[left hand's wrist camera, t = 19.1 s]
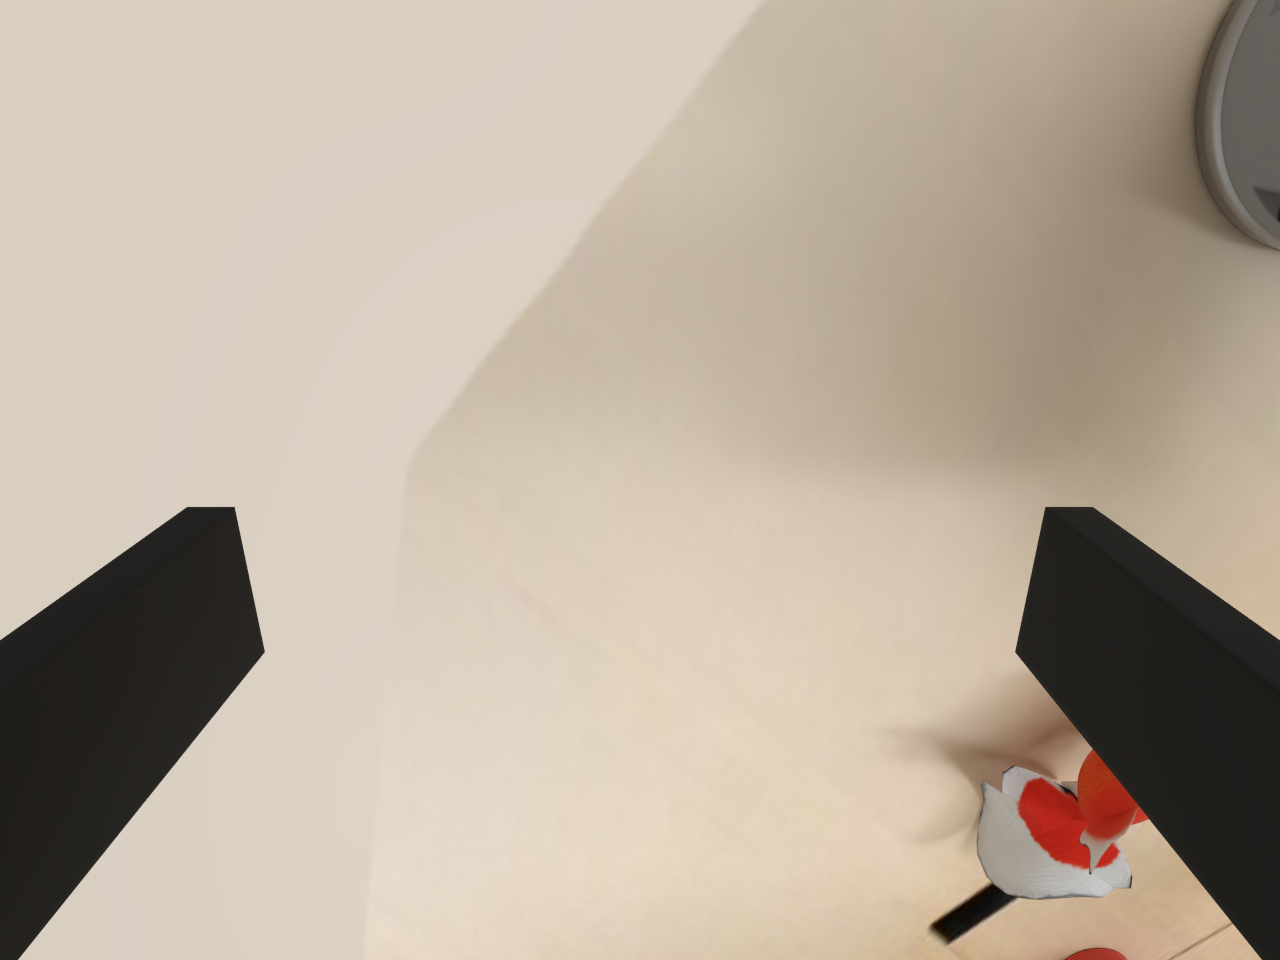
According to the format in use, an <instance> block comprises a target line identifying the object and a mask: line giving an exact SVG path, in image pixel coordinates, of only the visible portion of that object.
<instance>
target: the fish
mask: <svg viewBox="0 0 1280 960" xmlns="http://www.w3.org/2000/svg"><path fill="white" fill-rule="evenodd" d="M1061 784H1062V785H1063V786H1065V787H1066V788H1065V787H1063V786H1062V785H1060V784H1058V783H1056V782H1054V781H1052V780H1050V779H1048V778H1046V777H1044V776H1043V775H1040V774H1038V773H1035V772H1033V771H1030V770H1027V769H1024V768H1021V767H1017V766H1014V765H1013V766H1012V767H1010V768H1009V769H1008V770H1006V771H1005V772H1003V779H1002V790H1000V789H998V788H996V787H994V786H992V785H990V784H989V783H987V782H984V781H983V782H982V784H981V788H982V792H983V800H984V804H983V808H982V811H981V814H980V820H979V826H978V835H977V855H978V858H979V860H980V863H981V865H982V867H983V870H984V872H985V875H986V877H987V878H988V879H989V880H990V881H991V882H992V883H993V884H994V885H996V886H997V887H998V888H1000V889H1001V890H1002V891H1004V892H1005V893H1006V894H1009V895H1013V896H1016V897H1020V898H1026V899H1036V900H1041V899H1055V898H1070V897H1100V898H1102V897H1103V896H1105V895H1106V894H1108V893H1109V892H1111V891H1112V890H1113V889H1115V888H1131V883H1132V874H1131V871H1130V868H1129V865H1128V862H1127V860H1126V858H1125V856H1124V854H1123V852H1122V850H1121V848H1120V846H1119V844H1118V842H1117V839H1118V838H1120V837H1121V836H1122V835H1124V834H1125V833H1126V832H1127V830H1128V828H1129V827H1130V825H1133V824H1136V823H1140V822H1143V821H1145V820H1147V819H1149V818H1148V817H1147V816H1146V814H1145V813H1144V812H1143V811H1142V809H1141V808H1140V807H1139V806H1138V804H1137V803H1136V802H1135V801H1134V799H1133V798H1132V797H1131V796H1130V795H1129V793H1128V792H1127V791H1126V790H1125V788H1124V787H1123V786H1122V785H1121V783H1120V782H1119V781H1118V780H1117V778H1116V777H1115V776H1114V775H1113V773H1112V772H1111V771H1110V770H1109V768H1108V767H1107V766H1106V765H1105V763H1104V762H1103V761H1102V760H1101V758H1100V757H1099V756H1098V755H1097V753H1096V752H1095V751H1094V750H1092V751H1091V752H1090V753H1089V754H1088V756H1087V757H1086V759H1085V760H1084V762H1083V764H1082V767H1081V769H1080V772H1079V776H1078V782H1070V781H1062V782H1061ZM1067 788H1068V789H1067ZM1075 795H1076V796H1077V797H1078V798H1077V797H1076V796H1075Z"/></svg>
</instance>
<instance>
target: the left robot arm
mask: <svg viewBox="0 0 1280 960" xmlns="http://www.w3.org/2000/svg"><path fill="white" fill-rule="evenodd" d="M1196 144H1197V152H1198V158H1199V163H1200V167H1201V170H1202V174H1203V177H1204V180H1205V182H1206V185H1207V187H1208V189H1209V191H1210V194H1211V195H1212V197H1213V199H1214V200H1215V202H1216V204H1217V205H1218V207H1219V208H1220V209H1221V211H1222V212H1223V213H1224V215H1225V216H1226V217H1227V218H1228V219H1229V220H1230V221H1231V222H1232V223H1233V224H1234V225H1235V226H1236V227H1237V228H1239V229H1240V230H1241V231H1242V232H1244V233H1245V234H1246V235H1248V236H1250V237H1251V238H1253V239H1255V240H1256V241H1258V242H1260V243H1263V244H1265V245H1267V246H1270V247H1272V248H1276V249H1279V250H1280V0H1235V1H1234V3H1233V4H1232V6H1231V8H1230V10H1229V11H1228V13H1227V15H1226V17H1225V19H1224V20H1223V22H1222V24H1221V26H1220V29H1219V31H1218V33H1217V35H1216V37H1215V39H1214V42H1213V44H1212V47H1211V50H1210V52H1209V55H1208V58H1207V61H1206V64H1205V68H1204V71H1203V75H1202V78H1201V83H1200V88H1199V93H1198V99H1197V109H1196ZM264 652H265V651H264V646H263V641H262V636H261V632H260V627H259V622H258V617H257V612H256V608H255V603H254V598H253V593H252V589H251V584H250V579H249V574H248V569H247V565H246V560H245V555H244V550H243V545H242V540H241V536H240V531H239V526H238V521H237V516H236V512H235V507H187V508H185V509H184V510H182V511H181V512H180V513H178V514H177V515H176V516H174V517H173V518H171V519H170V520H168V521H167V522H166V523H164V524H163V525H161V526H160V527H159V528H157V529H156V530H154V531H153V532H152V533H150V534H149V535H147V536H146V537H145V538H143V539H142V540H140V541H139V542H138V543H136V544H135V545H133V546H132V547H131V548H129V549H128V550H126V551H125V552H123V553H122V554H121V555H119V556H118V557H116V558H115V559H114V560H112V561H111V562H109V563H108V564H107V565H105V566H104V567H103V568H101V569H100V570H98V571H97V572H95V573H94V574H93V575H91V576H90V577H88V578H87V579H86V580H84V581H83V582H81V583H80V584H79V585H77V586H76V587H74V588H73V589H72V590H70V591H69V592H67V593H66V594H65V595H63V596H62V597H60V598H59V599H58V600H56V601H55V602H53V603H52V604H51V605H49V606H48V607H46V608H45V609H44V610H42V611H41V612H39V613H38V614H37V615H35V616H34V617H32V618H31V619H30V620H28V621H27V622H25V623H24V624H22V625H21V626H20V627H18V628H17V629H15V630H14V631H13V632H11V633H10V634H9V635H7V636H6V637H4V638H3V639H1V640H0V960H18V959H19V958H20V957H21V955H22V954H23V953H24V952H25V950H26V949H27V948H28V947H29V945H30V944H31V943H32V942H33V940H34V939H35V938H36V937H37V935H38V934H39V933H40V932H41V930H42V929H43V928H44V927H45V925H46V924H47V923H48V922H49V920H50V919H51V918H52V917H53V915H54V914H55V913H56V912H57V910H58V909H59V908H60V907H61V905H62V904H63V903H64V902H65V900H66V899H67V898H68V897H69V895H70V894H71V893H72V892H73V890H74V889H75V888H76V887H77V885H78V884H79V883H80V882H81V880H82V879H83V878H84V877H85V876H86V874H87V873H88V872H89V871H90V869H91V868H92V867H93V866H94V864H95V863H96V862H97V861H98V859H99V858H100V857H101V856H102V854H103V853H104V852H105V851H106V849H107V848H108V847H109V846H110V844H111V843H112V842H113V841H114V839H115V838H116V837H117V836H118V834H119V833H120V832H121V831H122V829H123V828H124V827H125V826H126V824H127V823H128V822H129V821H130V819H131V818H132V817H133V816H134V814H135V813H136V812H137V811H138V809H139V808H140V807H141V806H142V804H143V803H144V802H145V801H146V799H147V798H148V797H149V796H150V795H151V793H152V792H153V791H154V790H155V788H156V787H157V786H158V785H159V783H160V782H161V781H162V779H163V778H164V777H165V776H166V775H167V773H168V772H169V771H170V770H171V768H172V767H173V766H174V765H175V763H176V762H177V761H178V760H179V758H180V757H181V756H182V755H183V753H184V752H185V751H186V750H187V748H188V747H189V746H190V745H191V743H192V742H193V741H194V740H195V738H196V737H197V736H198V735H199V733H200V732H201V731H202V730H203V728H204V727H205V726H206V725H207V723H208V722H209V721H210V720H211V718H212V717H213V716H214V715H215V713H216V712H217V711H218V710H219V709H220V707H221V706H222V705H223V703H224V702H225V701H226V700H227V699H228V697H229V696H230V695H231V694H232V692H233V691H234V690H235V689H236V687H237V686H238V685H239V684H240V682H241V681H242V680H243V679H244V677H245V676H246V675H247V674H248V672H249V671H250V670H251V669H252V667H253V666H254V665H255V664H256V662H257V661H258V660H259V659H260V657H261V656H262V655H263V654H264ZM1015 652H1016V654H1017V655H1018V656H1019V657H1020V659H1021V660H1022V661H1023V662H1024V664H1025V665H1026V666H1027V667H1028V669H1029V670H1030V671H1031V672H1032V674H1033V675H1034V676H1035V677H1036V679H1037V680H1038V681H1039V682H1040V684H1041V685H1042V686H1043V687H1044V689H1045V690H1046V691H1047V692H1048V694H1049V695H1050V696H1051V697H1052V699H1053V700H1054V701H1055V702H1056V704H1057V705H1058V706H1059V707H1060V709H1061V710H1062V711H1063V712H1064V713H1065V715H1066V716H1067V717H1068V718H1069V720H1070V721H1071V722H1072V723H1073V725H1074V726H1075V727H1076V728H1077V730H1078V731H1079V732H1080V733H1081V735H1082V736H1083V737H1084V738H1085V740H1086V741H1087V742H1088V743H1089V745H1090V746H1091V747H1092V748H1093V750H1094V751H1095V752H1096V753H1097V755H1098V756H1099V757H1100V758H1101V760H1102V761H1103V762H1104V763H1105V765H1106V766H1107V767H1108V768H1109V770H1110V771H1111V772H1112V773H1113V775H1114V776H1115V777H1116V778H1117V780H1118V781H1119V782H1120V783H1121V785H1122V786H1123V787H1124V788H1125V790H1126V791H1127V792H1128V793H1129V795H1130V796H1131V797H1132V798H1133V799H1134V801H1135V802H1136V803H1137V804H1138V806H1139V807H1140V808H1141V809H1142V811H1143V812H1144V813H1145V814H1146V816H1147V817H1148V818H1149V819H1150V821H1151V822H1152V823H1153V824H1154V826H1155V827H1156V828H1157V829H1158V831H1159V832H1160V833H1161V834H1162V836H1163V837H1164V838H1165V839H1166V841H1167V842H1168V843H1169V844H1170V846H1171V847H1172V848H1173V849H1174V851H1175V852H1176V853H1177V854H1178V856H1179V857H1180V858H1181V859H1182V861H1183V862H1184V863H1185V864H1186V866H1187V867H1188V868H1189V869H1190V871H1191V872H1192V873H1193V874H1194V876H1195V877H1196V878H1197V879H1198V881H1199V882H1200V883H1201V884H1202V886H1203V887H1204V888H1205V889H1206V890H1207V892H1208V893H1209V894H1210V895H1211V897H1212V898H1213V899H1214V900H1215V902H1216V903H1217V904H1218V905H1219V907H1220V908H1221V909H1222V910H1223V912H1224V913H1225V914H1226V915H1227V917H1228V918H1229V919H1230V920H1231V922H1232V923H1233V924H1234V925H1235V927H1236V928H1237V929H1238V930H1239V932H1240V933H1241V934H1242V935H1243V937H1244V938H1245V939H1246V940H1247V942H1248V943H1249V944H1250V945H1251V947H1252V948H1253V949H1254V950H1255V952H1256V953H1257V954H1258V955H1259V957H1260V958H1261V959H1262V960H1280V640H1279V639H1277V638H1276V637H1274V636H1273V635H1272V634H1270V633H1269V632H1267V631H1266V630H1265V629H1263V628H1262V627H1260V626H1259V625H1258V624H1256V623H1255V622H1253V621H1252V620H1250V619H1249V618H1248V617H1246V616H1245V615H1243V614H1242V613H1241V612H1239V611H1238V610H1236V609H1235V608H1234V607H1232V606H1231V605H1229V604H1228V603H1227V602H1225V601H1224V600H1222V599H1221V598H1220V597H1218V596H1217V595H1215V594H1214V593H1213V592H1211V591H1210V590H1208V589H1207V588H1206V587H1204V586H1203V585H1201V584H1200V583H1199V582H1197V581H1196V580H1194V579H1193V578H1192V577H1190V576H1189V575H1187V574H1186V573H1185V572H1183V571H1182V570H1180V569H1179V568H1178V567H1176V566H1175V565H1173V564H1172V563H1171V562H1169V561H1168V560H1166V559H1165V558H1164V557H1162V556H1161V555H1159V554H1158V553H1156V552H1155V551H1154V550H1152V549H1151V548H1149V547H1148V546H1147V545H1145V544H1144V543H1142V542H1141V541H1140V540H1138V539H1137V538H1135V537H1134V536H1133V535H1131V534H1130V533H1128V532H1127V531H1126V530H1124V529H1123V528H1121V527H1120V526H1119V525H1117V524H1116V523H1114V522H1113V521H1112V520H1110V519H1109V518H1107V517H1106V516H1105V515H1103V514H1102V513H1100V512H1099V511H1098V510H1096V509H1095V508H1093V507H1045V512H1044V516H1043V521H1042V526H1041V531H1040V536H1039V540H1038V545H1037V550H1036V555H1035V560H1034V564H1033V569H1032V574H1031V579H1030V584H1029V588H1028V593H1027V598H1026V603H1025V608H1024V612H1023V617H1022V622H1021V627H1020V632H1019V636H1018V641H1017V646H1016V651H1015Z"/></svg>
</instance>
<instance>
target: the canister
mask: <svg viewBox="0 0 1280 960" xmlns="http://www.w3.org/2000/svg"><path fill="white" fill-rule="evenodd" d="M1066 960H1127V959H1126V958H1125V957H1124V956H1123V955H1122V954H1120V953H1119V952H1116V951H1114V950H1110V949H1102V948H1097V949H1089V950H1085V951H1081V952H1079V953H1076V954H1074V955H1072V956H1071V957H1069V958H1068V959H1066Z"/></svg>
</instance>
